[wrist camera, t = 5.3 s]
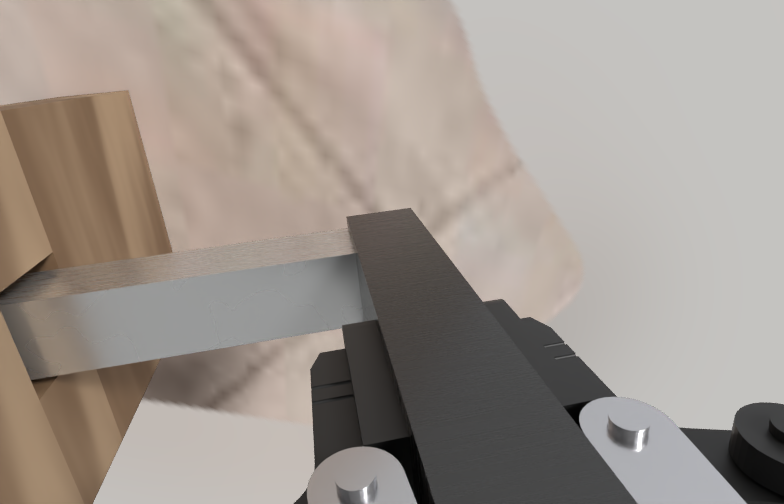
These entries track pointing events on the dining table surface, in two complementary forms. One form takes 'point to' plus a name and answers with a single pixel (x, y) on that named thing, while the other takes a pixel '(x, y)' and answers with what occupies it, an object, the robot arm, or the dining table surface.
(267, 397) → the dining table surface
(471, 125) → the dining table surface
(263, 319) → the l-shaped bracket
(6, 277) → the block
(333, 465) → the robot arm
